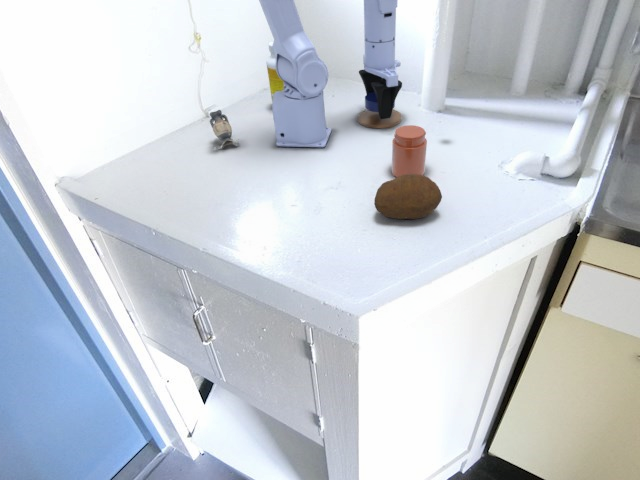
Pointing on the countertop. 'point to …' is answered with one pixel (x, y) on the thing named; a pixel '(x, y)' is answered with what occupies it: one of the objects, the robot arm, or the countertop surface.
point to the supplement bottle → (273, 73)
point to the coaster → (378, 119)
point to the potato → (408, 197)
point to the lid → (372, 102)
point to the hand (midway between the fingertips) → (379, 112)
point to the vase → (222, 129)
